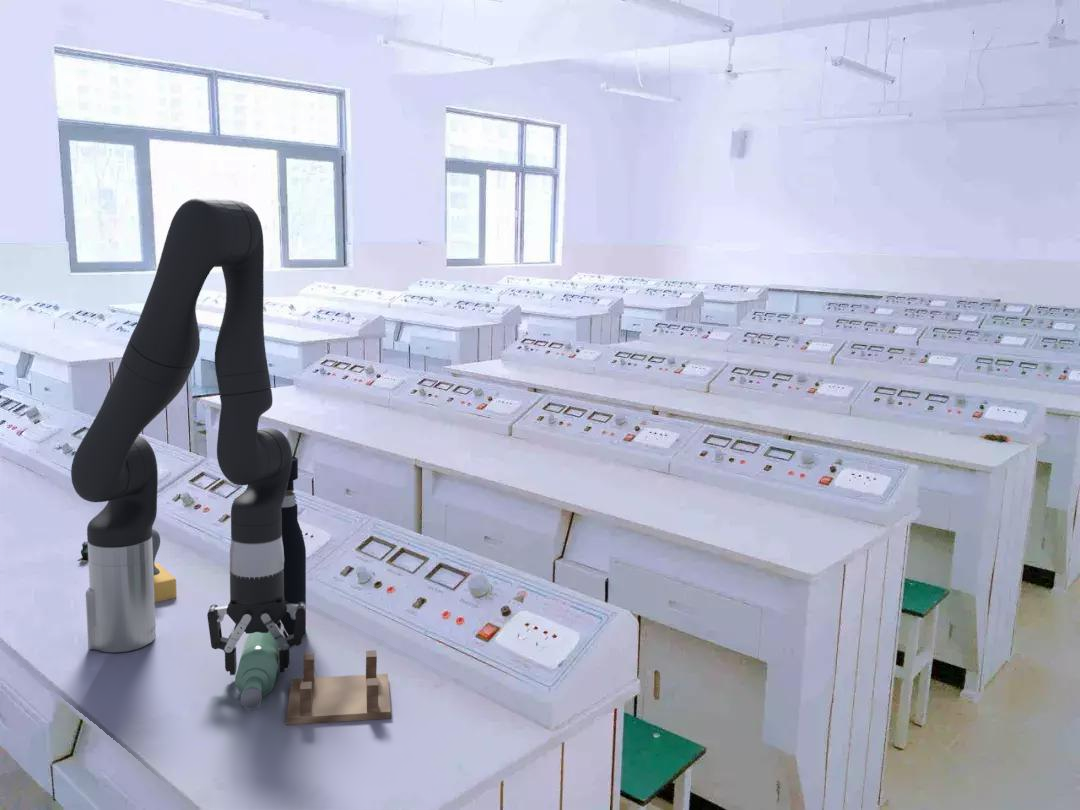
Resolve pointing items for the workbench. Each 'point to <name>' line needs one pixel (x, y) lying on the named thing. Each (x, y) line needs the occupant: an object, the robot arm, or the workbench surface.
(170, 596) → the rubber stamp
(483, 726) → the workbench surface
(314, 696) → the u rest
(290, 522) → the wine bottle
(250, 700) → the green bottle
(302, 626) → the robot arm
